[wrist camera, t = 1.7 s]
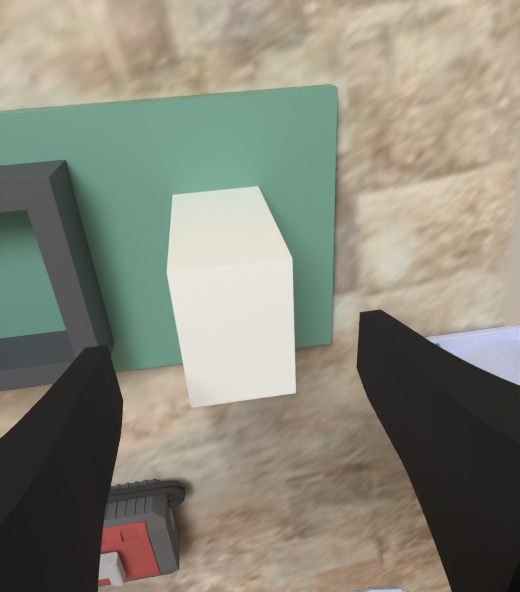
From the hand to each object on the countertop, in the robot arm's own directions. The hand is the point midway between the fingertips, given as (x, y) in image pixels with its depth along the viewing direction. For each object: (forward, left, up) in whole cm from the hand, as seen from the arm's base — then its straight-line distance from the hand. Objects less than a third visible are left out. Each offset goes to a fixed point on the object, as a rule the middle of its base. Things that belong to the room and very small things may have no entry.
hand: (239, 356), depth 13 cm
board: (+5, 0, -9) cm, 10 cm away
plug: (0, 0, -8) cm, 8 cm away
